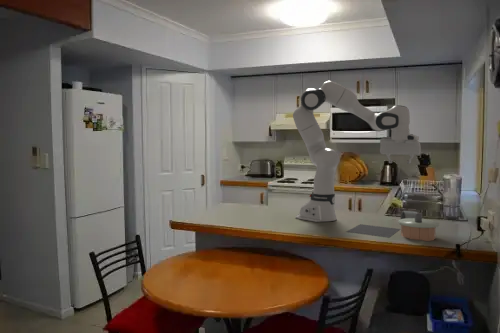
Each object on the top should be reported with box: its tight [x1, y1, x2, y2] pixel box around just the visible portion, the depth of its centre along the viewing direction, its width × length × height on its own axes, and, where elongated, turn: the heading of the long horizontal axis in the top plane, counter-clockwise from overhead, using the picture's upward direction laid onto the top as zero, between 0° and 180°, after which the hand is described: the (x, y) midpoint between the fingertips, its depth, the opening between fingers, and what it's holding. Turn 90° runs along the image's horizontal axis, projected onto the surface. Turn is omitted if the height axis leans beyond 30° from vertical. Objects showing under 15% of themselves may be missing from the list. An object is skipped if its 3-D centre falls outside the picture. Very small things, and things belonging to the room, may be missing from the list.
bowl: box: [400, 224, 437, 242], centre depth 185 cm, size 14×14×6 cm
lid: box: [397, 212, 440, 228], centre depth 185 cm, size 17×17×5 cm
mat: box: [345, 224, 401, 239], centre depth 196 cm, size 20×20×1 cm
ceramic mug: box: [400, 210, 419, 219], centre depth 210 cm, size 11×8×8 cm
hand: (399, 163), depth 216 cm, fingers open, 8 cm apart
